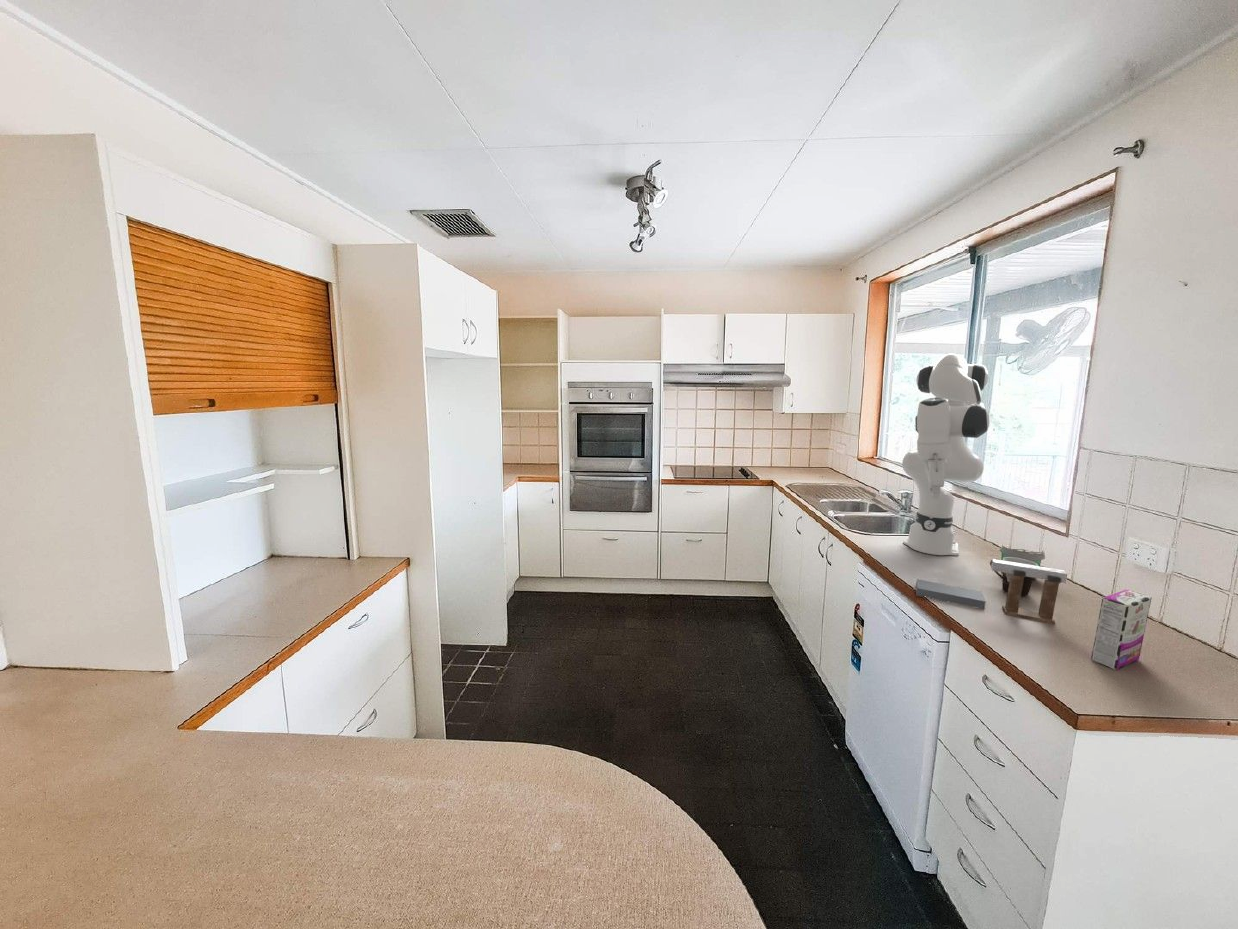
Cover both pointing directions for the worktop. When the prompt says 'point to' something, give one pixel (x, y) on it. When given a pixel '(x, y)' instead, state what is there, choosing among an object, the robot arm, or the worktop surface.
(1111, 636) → the candy bar box
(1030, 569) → the rail
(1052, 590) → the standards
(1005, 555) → the food container
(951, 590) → the board
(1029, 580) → the coffee mug
